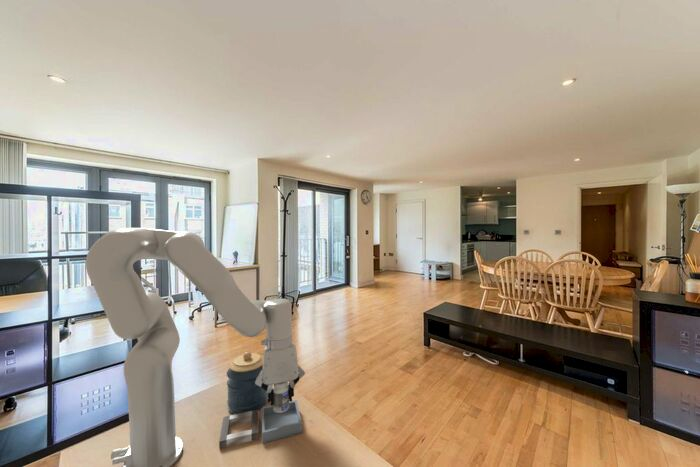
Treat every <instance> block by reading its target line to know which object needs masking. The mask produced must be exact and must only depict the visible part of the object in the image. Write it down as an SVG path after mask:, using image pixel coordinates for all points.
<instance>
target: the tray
mask: <svg viewBox="0 0 700 467" xmlns="http://www.w3.org/2000/svg"><path fill="white" fill-rule="evenodd" d="M260 410H261V413H260V414H261V440H262V441H261V442H262V444H266V443H269V442H273V441H278V440H282V439H284V438H285V439H286V438H289V437H293V436H296V435H301V434H303V422H302V421H303V420H302V418H301V413H300V409H299V404H298V400H297V399H296V400H292V401H291V402H290V401H289V408H288V410H286V411H285V412H282V413H277V412H275V411H274V410H273V406H271V405H268V406H264V407H262V408H261V409H260Z"/></svg>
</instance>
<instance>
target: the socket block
mask: <svg viewBox="0 0 700 467" xmlns="http://www.w3.org/2000/svg"><path fill="white" fill-rule="evenodd" d="M249 422H251V428H250V429H246V430H243V431H238V432H234V433H230V434H229V432H230V426H231V427H232V426H235V425H236V426H237V425H240V424H243V423H249ZM221 424H222V425H221V429H220V435H219V440H218V442H219V443H218V444H219V446H218V447H219V448H218V449H223V448H224V449H225V448H228V447H232V446H236V445H240V444H244V443H247V442H253V441H257V440H259V410H253V411H249V412H244V413H240V414H230V415H227V416H223V418H222V423H221Z"/></svg>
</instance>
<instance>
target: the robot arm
mask: <svg viewBox="0 0 700 467" xmlns="http://www.w3.org/2000/svg"><path fill="white" fill-rule="evenodd" d="M204 243H205V242H204V240H203V239H202V238H201V236H200V235H198V234H196V233H194V232H190V231H175V230H167V229H166V230H165V229H158V228H157V229H156V228H149V227H148V228H147V227H126V228H125V227H123V228H117V229H114V230H112V231H109V232H108V233H106V234H103V236H101V237H100V238H98V239H97V240H96V241H95V242H94V243H93V244H92V245H91V247H90V248H89V250H88V252H87V254H86V258H85V269H86V273H87V275H88V278H89V280H90V282H91V284H92V286H93V288H94V290H95V293H96V295H97V296H98V299H99V302H100V305H101V306H102V309H103V311H104V313H105V315H106V318H107V319H108V323H109V324H110V327H111V330H112V331H113V332H114V334H115V335H116V336H118V337H119V338H121V339H123V340H130V341H131V340H135V339H137V343H135V345H134V346H133V347H132V348H131V349H130V351H129V353H128V354H127V355H126V358H125V359H124V364H123V377H124V380H125V385H126V390H127V403H128V405H127V407H128V419H129V420H128V422H129V444H128V446H127V447H120V448H117V449H113V450H112V451H111V454H110V459H111V460H112V461H111V462H112V463H111V465H112V466H113V465H117V464H120V463H124V464H123V465H122V467H172V466H173V465H174V464H175V463H176V462H177V461H178V460H179V458H180V457H181V455H182V454H183V449H184V445H183V440H182V439H181V438H180V437H177V435H176V434H177V432H176V430H177V429H176V410H175V409H176V404H175V403H176V401H175V383H174V374H173V366H172V363H173V359H174V357H175V354H176V352H177V351H178V348H179V346H180V342H181V340H180V338H181V337H180V334H179V331H178V328H177V326H176V324H175V321H174V319H173V317H172V314H171V312H170V309H169V307H168V305H167V303H166V301H165V300H164V299H163V298H162V296H160V295H159V294H157V293H155V292H150V291H145V288H144V285H143V283H142V280H141V278H140V277H139V275H138V273H137V272H136V271H135V270H134V263H136V262H137V261H141V260H143V259H149V260H163V261H164V260H165V261H169V263H170V264H171V265H172V266H174V267H175V268H176V269H177V270H178V271H179V272H180V273H181V274H182V275H183V276H184V277H185V278H186V279H187V280H188V281H189V282H191V283H192V284H193V286H195V287H196V288H197V289H198V290H199V291H200V292H201V293H202V294H203V296H204V297H205V299H206V301H208V302H209V303H210V305H211V306H212V307H213V309H215V311H216V312H217V313H218V315H219V316H220V317H221V318H222V319H223V320H224V321H225V322H226V323H227V324H228V325H229V326H231V328H233V329H234V331H236V333H237V332H238V334H240V335H242V336H244V337H246V338H255V337H257V336H259V335H260V334H262V333H263V332H264V331H265V336H266V337H264V339H261V340H260V341H261V342H260V343H261V344H260V345H261V346H262V345H264V348H263V354H262V356H263V365H262V367H263V368H262V371H261V372H260V374H259V375H258V377H257V378H256V380H255V384H256V385H258V386H261V387H262V388H263V389H264V390H266V391H267V393H268V400H267V402H268V403H270V406H273V388H274V384H277V383H282V382H288V386H289V402H291V401H293V397H294V396H295V390H294V389H295V387H296V385H297V383H299V381H300V379H302V378H303V377H304V376H305V374H306V372H305V370H304V369H303V368H302V367H301V365H299V363H298V360H299V359H298V353H297V347H296V343H295V342H293V321H292V320H293V316H292V314H293V312H292V303H291V301H290V300H289V299H286V298H274V299H271V300H270V299H269V300H265V299H264V300H259V299H254V300H253V299H251V300H250V299H249V298H248V297H247V296H246V294H244V292H243V291H242V290H241V289H240V288H239V285H238V284H237V283H236V281H235V278H234V277H233V275H232V273H231V272H230V270H229V269H228V268H227V267H226V266H225V265H224V264H223V263H222V262H221V261H220V260H219V259H218V258H217V257H216V256H215V255H214V254H213V253H212V251H210V250H209V249H208V248H207V247H206V246H205V244H204ZM262 378H263V381H262Z"/></svg>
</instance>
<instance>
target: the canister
mask: <svg viewBox="0 0 700 467" xmlns="http://www.w3.org/2000/svg"><path fill="white" fill-rule="evenodd" d="M262 365H263V354H262V355H261V354H259V353H256V352H251V351H245V352H244V353H243V354H241V355H238V356H237V357H236V358H234V359H233V360H232V361H231V362H230V363H229V366H228V367H229V368H228V369H227V371H226V376H227V377H226V378H228V379H227V381H226V385H227V401H226V403H227V407H228V411H229V412H230V413H231V415H235V414H240V413H244V412H249V411H253V410H258V411H260V410H261V408H262V407H266V404H267V402H268V393H267V391H266V390H264V389H263V388H262V387H261V386H258V385H256V384H255V380H256V378H257V377H258V375H259V374H260V372H261V371H262V368H263V367H262ZM262 381H263V378H262Z"/></svg>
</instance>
